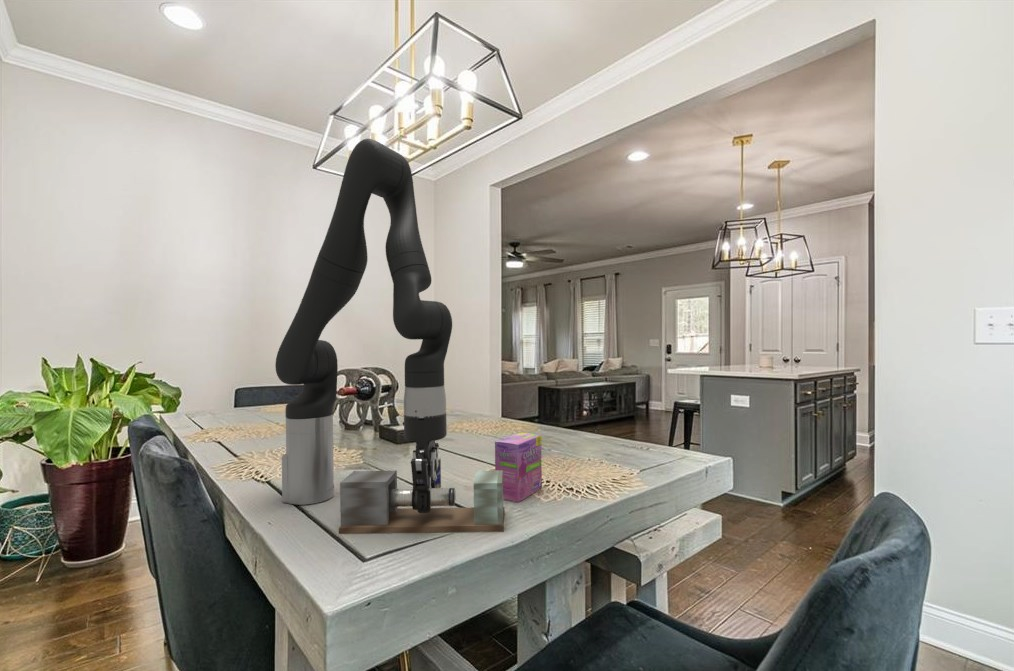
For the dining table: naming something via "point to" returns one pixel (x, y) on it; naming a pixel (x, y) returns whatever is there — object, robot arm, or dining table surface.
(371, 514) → the rail base
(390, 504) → the tube
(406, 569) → the dining table surface
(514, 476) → the box
